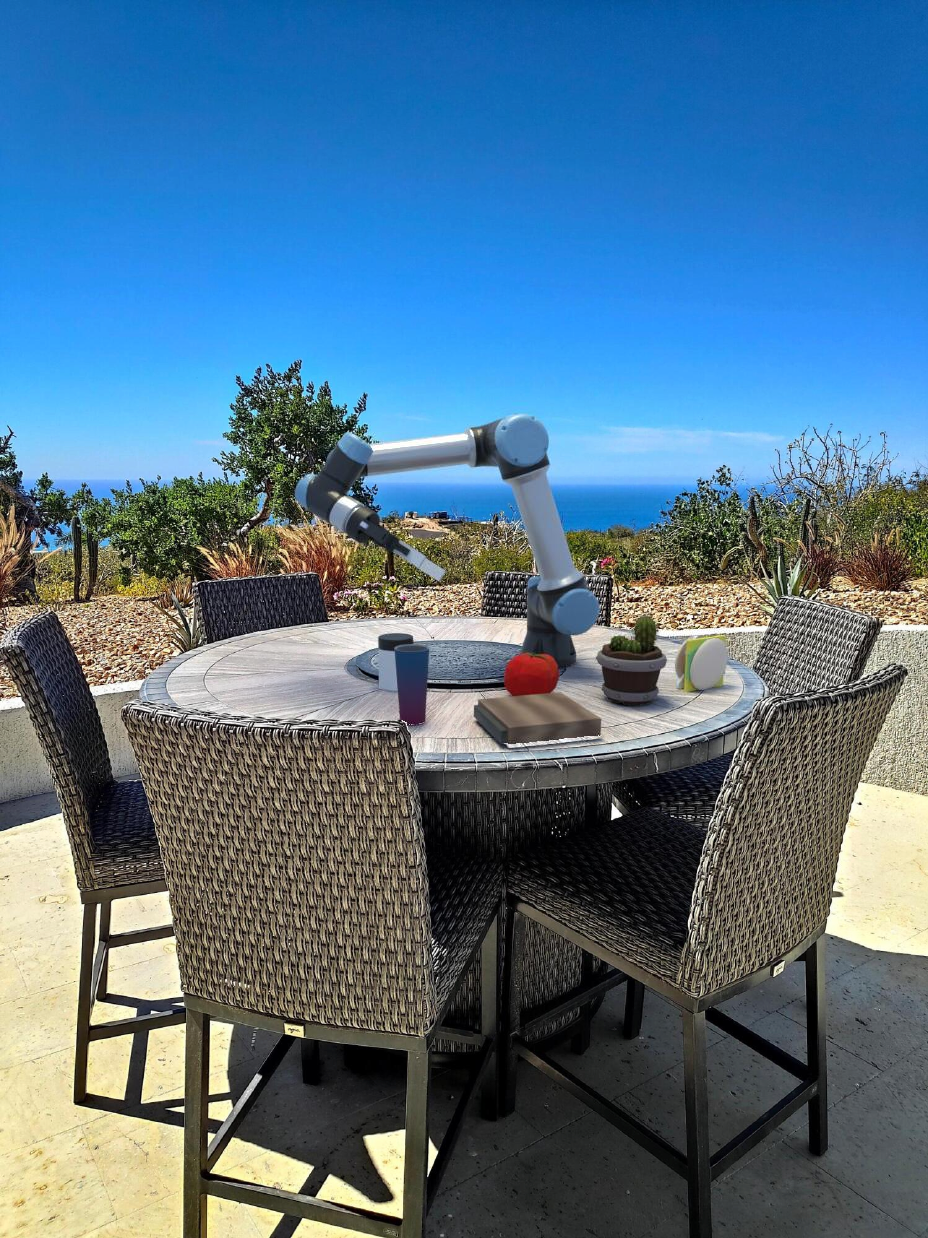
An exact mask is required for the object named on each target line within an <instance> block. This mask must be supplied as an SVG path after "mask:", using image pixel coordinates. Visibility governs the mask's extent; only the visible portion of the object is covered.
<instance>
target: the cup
mask: <svg viewBox="0 0 928 1238" xmlns="http://www.w3.org/2000/svg"><path fill="white" fill-rule="evenodd" d="M394 650H395V663H396V676H397V689H398V691H397V697H398V699H397V700H398V712H399V721H400V720H403V721H405V722H407V725H406V726H412V725H411V724H414V725H413V726H417V725H416V724H419V723H423V722H424V723H426V715H427V698H428V697H427V694H428V679H429V660H430V647H429V646H428V645H425V644H419V643H418V644H417V643H414V644H406V645H399V646H396V647H395V648H394ZM424 723H423V724H424ZM409 724H410V725H409Z"/></svg>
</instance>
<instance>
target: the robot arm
mask: <svg viewBox="0 0 928 1238" xmlns="http://www.w3.org/2000/svg"><path fill="white" fill-rule="evenodd" d="M549 439H550V438H549V434H548V429H546V427H545V425H544V424H543V422H541V420H540V419H538V418H537V417H535V416H534V415H530V414H527V413H514V414H509V415H508V416H505V417H501V418H499V419H496V420H493V421H491V422H489V423H486V424H482V425H480V426H472V427H466V429H464V431H463V432H459V433H458V432H457V433H449V434H442V435H434V436H432V435H431V436H426V437H417V438H410V439H409V438H406V439H400V440H392V441H384V442H376V443H375V442H374V443H368V442H367V441H365V440H364V439H362V438H361V437H359V436H358V435H357V434H354V433H353V432H350V431H347V432H344V433H343V435H342V437H341V438H340V439H339V440H338V442H337V444H336V445H335V447H334V449H332V450H330V452H329V453H328V455H327V456H326V457H327V458H326V461H325V462H324V464H323V467H322V468H321V469H320V471H319V472H318V474H314V473H308V474H306V475H304V476H303V478H300V479H299V481H298V482H297V484H296V487H295V491H294V497H295V500H296V501H297V503H298V504H299V505H301V506H302V507H303V508H304V509H306V510H307V511H309V512H310V513H311V514H313V515H314V516H317V518H319V519H321V520H323V521H324V522H325V523H327V524H329V525H330V526H333V528H334V529H333V530H334V531H335V532H339V531H340V532H342V533H343V534H345V535H347V536H348V537H349V538H351V539H352V540H353V541H355V542H356V543H359V544H365V543H367V542H369V541H371V542H372V543H373V544H375V545H377V546H378V547H382V548H384V549H385V551H386V552H387V553H392V552H393V553H395V554H396V555H398V556H400V558H402V559H404V560H406V561H407V562H408V563H410V564H412V565H413V566H414V567H415V568H417V569H419V570H421V571H422V572H424V573H425V574H427V575H429V576H430V577H432V578H433V579H434V580H436V581H437V582H441V580H442V579H443V577H444V576H445V574H446V572H447V571H446V570H445V569H444V568H442V567H441V566H439V565H437V564H435V563H434V562H432V561H431V560H429V559H428V558H427V556H426V554H424V553H423V552H422V553H421V552H420V551H418V550H417V549H416V548H413V547H412V546H410V545H409V544H407V543H406V542H405V541H403V540H400V539H399V538H398V537H397V536H395V535H394V534H392V533H391V532H390V530H388V529H387V528H385V527H384V526H383V525H381V524H380V522H381V520H380V516H379V514H378V513H377V512H375V511H374V510H373V509H371V508H369V507H367V506H366V505H365V504H363V503H361V502H360V501H358V500H357V499H355V498H354V497H352V496H350V495H349V494H348V493H349V491H350V490H351V488H352V487H353V485H354V483H355V482H356V481H357V480H358V478H365V477H372V476H380V475H381V476H382V475H388V474H389V475H391V474H399V473H406V472H414V471H422V470H430V469H439V468H446V467H454V466H455V467H456V466H462V465H467V466H469V467H470V469H471V468H478V467H479V468H481V467H494V468H498V470H499V473H500V476H501V479H502V482H505V484H507V485H509V486H510V487H511V490H512V493H513V496H514V498H515V502H516V505H517V508H518V512H519V514H520V517H521V520H522V524H523V527H524V530H525V533H526V537H527V539H528V543H529V546H530V549H531V553H532V556H533V558H534V561H535V564H536V568H537V571H538V574H539V576H531V577H530V578H529V579H528V581H527V587H526V592H527V594H526V634H525V636H524V639H523V642H522V646H521V648H520V651H519V655H520V654H522V653H527V652H528V653H535V654H547V655H550V656H551V657H553V658H554V660H555V662H556V663H557V665H558V668H563V667H565V668H566V667H569V666H573V665H575V664H577V657H578V656H577V650H576V647H575V644H574V640H573V638H572V636H580V635H582V634H586V632H587V633H588V631H590V630H591V629H592V628H593V627H594V626H595V623H597V620H598V618H599V615H600V602H599V601H598V598H597V597H596V596H595V594H594V593H593V592H591V590H589V589H588V585H587V582H586V578H585V575H584V573H583V572H582V571H580V570H578V569H576V568H575V565H574V561H573V558H572V555H571V551H570V549H569V545H568V542H567V541H568V540H567V538H566V534H565V532H564V531H565V530H564V529H563V525H562V521H561V519H560V515H559V510H558V509H557V505H556V502H555V498H554V496H553V492H552V489H551V486H550V482H549V478H548V475H547V472H548V470H549V468H550V466H551V462H550V460H549V457H548V454H547V453H548V452H547V451H548V449H549V443H550V440H549Z"/></svg>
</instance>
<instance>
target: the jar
mask: <svg viewBox="0 0 928 1238" xmlns="http://www.w3.org/2000/svg"><path fill="white" fill-rule="evenodd" d="M377 640H378V641H377V642H378V643H377V647H378V652H377V657H378V689H379V690H380V691H381V690H383V691H390V692H397V693H398V689H397V676H396V663H395V650H394V648H395V647H396V646H399V645H406V644H415V642H414V636H413V635H412V634H409V633H403V632H402V633H401V632H393V633H392V632H391V633H383V634H380V635H379V636H378V637H377Z"/></svg>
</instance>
